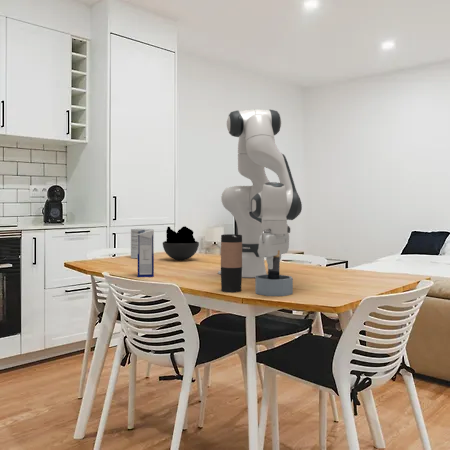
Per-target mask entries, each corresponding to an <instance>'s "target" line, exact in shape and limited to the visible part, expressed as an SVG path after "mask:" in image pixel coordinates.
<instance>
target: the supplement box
mask: <svg viewBox="0 0 450 450" xmlns="http://www.w3.org/2000/svg"><path fill="white" fill-rule="evenodd" d="M141 230H145V231H149V230H154V229H153V228H131V229H130V259H135V258H137V259H136V260H138V234H139V233H138V231H141Z"/></svg>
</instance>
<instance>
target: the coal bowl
mask: <svg viewBox="0 0 450 450" xmlns="http://www.w3.org/2000/svg"><path fill="white" fill-rule="evenodd" d="M165 235H166V240H165V241H163V242H162V248H163V250H164V252H165V254H166V255H167V256H168V257H170V259H173V260H175V261H180V260H181V261H186V260H189V259H191V258H192V257H193V256H195V255H196V253H197V252H198V250H199V247H200V242H198V240H196V239H195V237H194V231H193V230H192V229H190V228H188V227H187V226H185V225H184V226H182V227H181V228H180V229H178V230H177V232H176V231H175V230H173V229H171V227H170V226H167V228H166V233H165Z"/></svg>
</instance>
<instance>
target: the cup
mask: <svg viewBox="0 0 450 450" xmlns="http://www.w3.org/2000/svg"><path fill="white" fill-rule="evenodd" d="M254 278H255V279H254V280H255V287H254V289H255V290H254V291H255V294H256V295H261V296H265V297H285V296H290V295H293V294H294V293H293V292H294V291H293V289H294V288H293V284H294V282H293V281H294V279H293V278H294V277H292V276H291V275H284V274H279V279H268V274H267V275H258V276H255V277H254Z"/></svg>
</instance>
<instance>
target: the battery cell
mask: <svg viewBox="0 0 450 450" xmlns="http://www.w3.org/2000/svg"><path fill="white" fill-rule="evenodd" d="M280 262H281V260H280V250H278V254H277V255H276V256H273V264H274V269H268V268H267V275H268V279H279V275H280V269H281V268H280Z"/></svg>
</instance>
